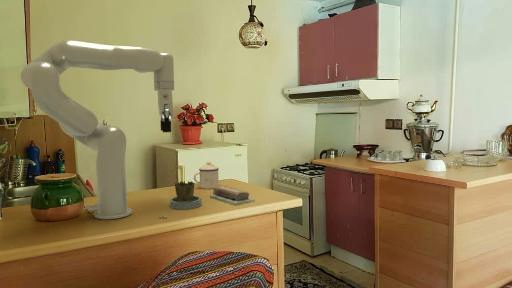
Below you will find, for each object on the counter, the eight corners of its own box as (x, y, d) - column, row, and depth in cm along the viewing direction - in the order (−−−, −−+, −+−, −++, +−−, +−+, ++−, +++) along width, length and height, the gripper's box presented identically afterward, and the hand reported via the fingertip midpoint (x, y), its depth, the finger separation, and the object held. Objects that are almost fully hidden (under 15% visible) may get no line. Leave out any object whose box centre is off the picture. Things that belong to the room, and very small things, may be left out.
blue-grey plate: (171, 210, 144) (171, 204, 144) (168, 203, 156) (168, 196, 155) (204, 207, 148) (203, 201, 147) (199, 200, 159) (198, 194, 159)
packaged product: (208, 187, 164) (228, 183, 170) (209, 198, 164) (228, 194, 171) (234, 194, 150) (255, 190, 156) (235, 206, 150) (255, 202, 157)
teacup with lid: (214, 184, 190) (213, 160, 189) (222, 187, 182) (221, 162, 181) (190, 187, 184) (189, 162, 183) (197, 190, 176) (197, 165, 175)
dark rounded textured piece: (197, 201, 155) (196, 180, 154) (192, 205, 148) (191, 184, 147) (178, 200, 156) (177, 180, 155) (172, 205, 148) (172, 184, 147)
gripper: (176, 85, 144) (178, 132, 145) (172, 87, 160) (173, 129, 162) (155, 85, 141) (157, 133, 143) (153, 87, 158) (154, 130, 160)
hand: (165, 131), depth 153 cm, fingers open, 9 cm apart
